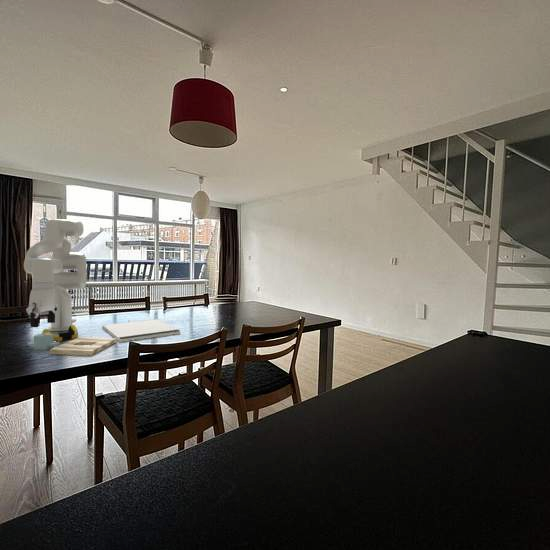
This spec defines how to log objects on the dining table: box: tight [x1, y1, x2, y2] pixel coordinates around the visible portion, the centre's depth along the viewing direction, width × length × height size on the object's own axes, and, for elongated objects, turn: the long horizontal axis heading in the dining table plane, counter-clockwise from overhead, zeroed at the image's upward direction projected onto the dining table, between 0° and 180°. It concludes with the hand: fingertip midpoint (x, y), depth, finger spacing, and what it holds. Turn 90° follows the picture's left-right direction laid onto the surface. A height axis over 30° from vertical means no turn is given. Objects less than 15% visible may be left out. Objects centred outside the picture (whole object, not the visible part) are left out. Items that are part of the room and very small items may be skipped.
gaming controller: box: [41, 324, 79, 342], centre depth 157 cm, size 15×6×10 cm
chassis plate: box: [49, 336, 118, 357], centre depth 145 cm, size 20×18×2 cm
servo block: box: [26, 333, 61, 350], centre depth 142 cm, size 4×12×7 cm, turn 89°
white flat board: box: [101, 318, 181, 343], centre depth 178 cm, size 35×2×31 cm
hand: (43, 324), depth 141 cm, fingers open, 9 cm apart
